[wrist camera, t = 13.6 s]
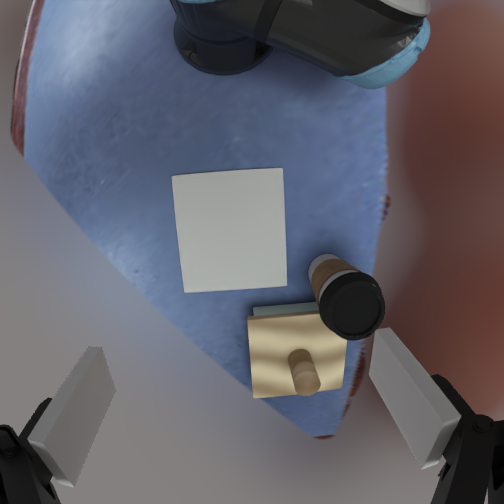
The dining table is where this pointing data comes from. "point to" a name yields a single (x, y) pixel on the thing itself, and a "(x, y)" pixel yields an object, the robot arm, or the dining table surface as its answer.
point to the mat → (231, 229)
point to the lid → (294, 354)
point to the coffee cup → (346, 297)
